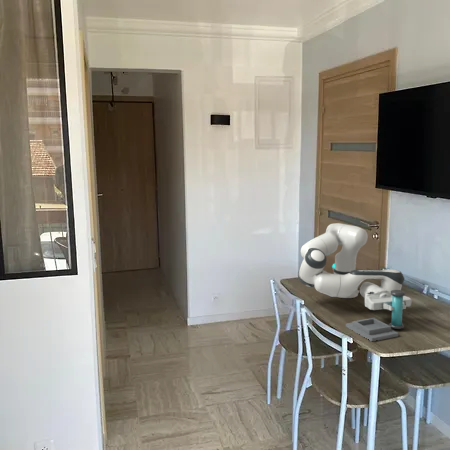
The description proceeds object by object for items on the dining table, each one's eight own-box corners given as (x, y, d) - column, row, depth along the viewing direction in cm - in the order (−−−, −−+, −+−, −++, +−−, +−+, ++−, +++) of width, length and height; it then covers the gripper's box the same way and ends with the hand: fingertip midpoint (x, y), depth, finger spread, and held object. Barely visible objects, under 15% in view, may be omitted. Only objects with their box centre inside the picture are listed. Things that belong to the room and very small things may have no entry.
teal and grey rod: (386, 325, 211) (387, 291, 208) (397, 323, 213) (398, 289, 210) (395, 330, 205) (397, 295, 203) (406, 327, 208) (408, 293, 205)
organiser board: (345, 326, 213) (346, 319, 212) (371, 322, 218) (371, 314, 217) (371, 341, 196) (371, 333, 196) (398, 336, 201) (398, 328, 201)
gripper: (401, 302, 223) (419, 312, 210) (361, 306, 219) (377, 317, 205) (401, 289, 222) (419, 299, 208) (362, 293, 218) (377, 303, 204)
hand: (398, 308), depth 207 cm, fingers closed on teal and grey rod, 4 cm apart
